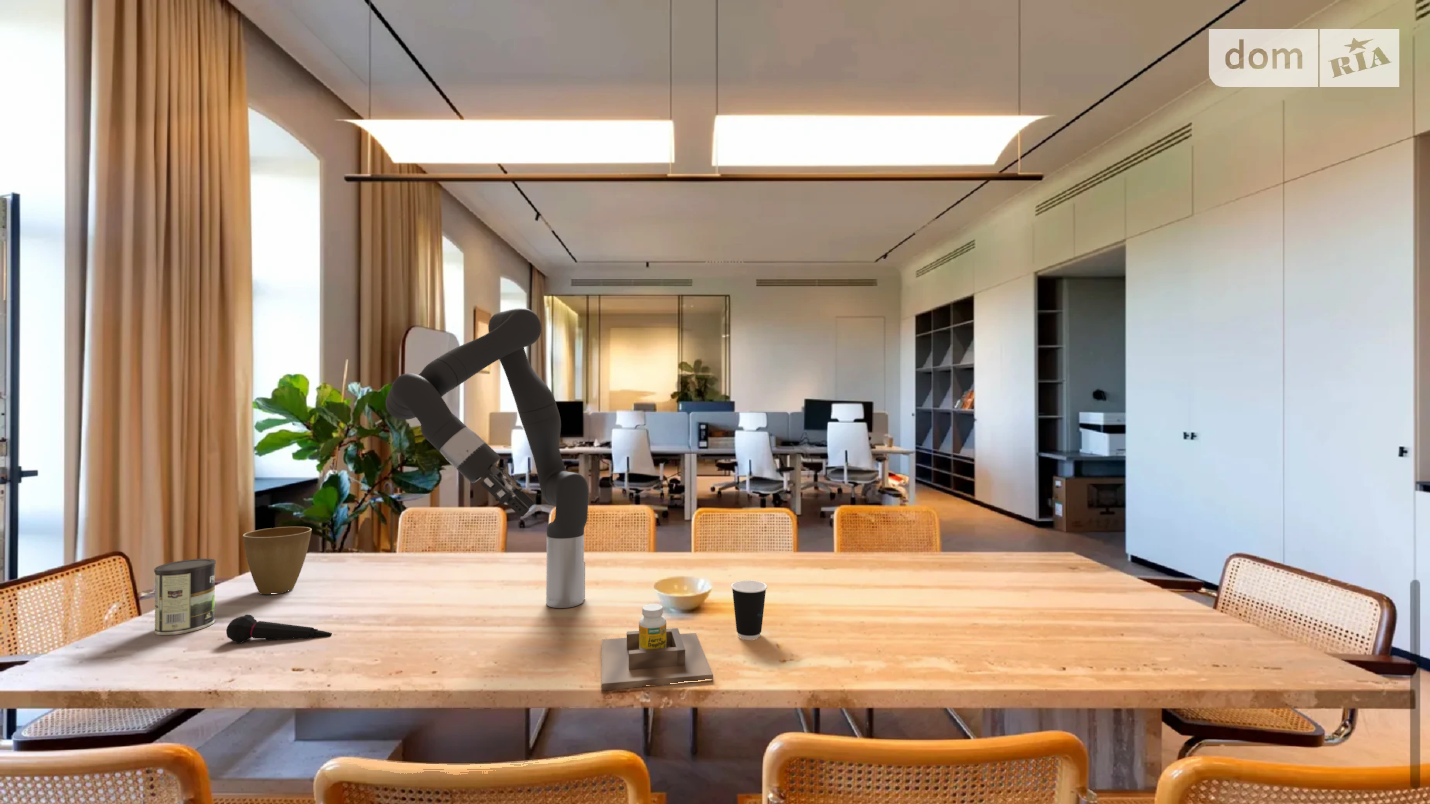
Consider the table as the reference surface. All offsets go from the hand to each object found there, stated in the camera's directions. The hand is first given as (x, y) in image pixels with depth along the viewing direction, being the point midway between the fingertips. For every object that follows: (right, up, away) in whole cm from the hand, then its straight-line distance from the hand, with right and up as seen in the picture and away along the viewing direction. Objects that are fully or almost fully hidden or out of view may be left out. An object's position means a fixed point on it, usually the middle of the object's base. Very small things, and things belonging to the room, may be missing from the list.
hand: (528, 509), depth 121 cm
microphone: (-55, -29, +4) cm, 62 cm away
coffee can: (-81, -29, +11) cm, 87 cm away
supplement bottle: (+26, -28, -6) cm, 39 cm away
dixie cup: (+46, -29, +7) cm, 55 cm away
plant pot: (-79, -29, +37) cm, 92 cm away
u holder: (+26, -29, -6) cm, 39 cm away
